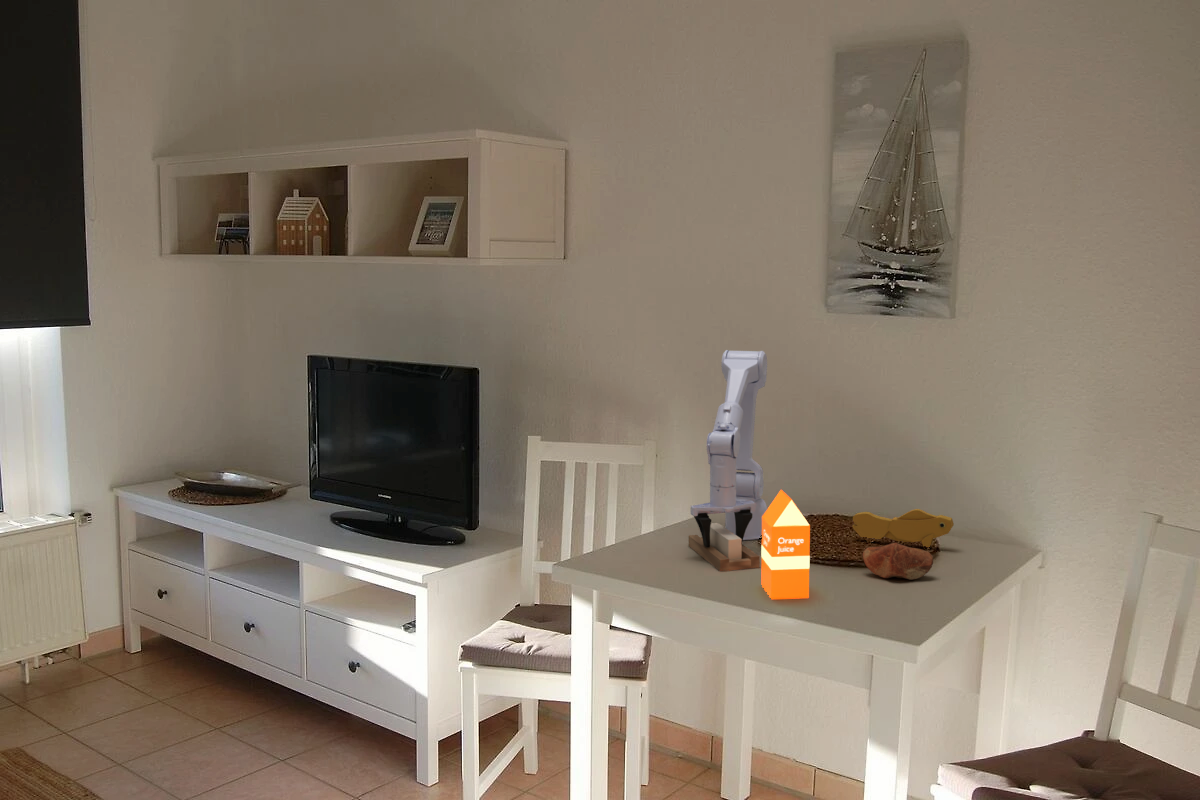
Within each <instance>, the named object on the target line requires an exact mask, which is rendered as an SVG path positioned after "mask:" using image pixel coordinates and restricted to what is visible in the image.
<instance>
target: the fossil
mask: <svg viewBox="0 0 1200 800" xmlns="http://www.w3.org/2000/svg"><path fill="white" fill-rule="evenodd" d="M861 554H862V555H861V556H862V558H863V559H862V560H863V563H864V565H865V567H866V568H867V569H868V570H869V571H870V572H871V573H873V574H874V575H876V576H879V577H881V578H883V579H890V578H897V579H906V580H910V581H911V580H917V579H920V578H923V577H924V576H925V575H926V574H928V573H929V572H930V571H931V569H932V567H933V564H934V556H933V554H931V553H930V552H929V550H926V549H925V550H924V549H921V548H916V547H911V546H910V547H909V546H906V545H903V544H901V543H898V542H892V543H889V544H886V545H883V546H868V547H866V548H865V549H864V550H863V552H862V553H861Z"/></svg>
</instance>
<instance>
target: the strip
mask: <svg viewBox="0 0 1200 800" xmlns="http://www.w3.org/2000/svg"><path fill="white" fill-rule="evenodd" d="M742 544H743V542H742V539H741V538H740V537H738V536H737V535H735V534H734V533H732V532H731V531H729V530H728V529H726V528H725V527H724V525H722V524H720V523H719V522H714V523H713V522H711V526H710V545H711V546H712V547H714V548H715V549H716V550H718V551H719V552H720V553H722V554H723V555H724V556H726V557H727V558H728V559H729V560H736V559H741V552H742Z"/></svg>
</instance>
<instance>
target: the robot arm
mask: <svg viewBox="0 0 1200 800" xmlns="http://www.w3.org/2000/svg"><path fill="white" fill-rule="evenodd" d="M720 363H721V365H720V366H721V373H722V375H723V376H724V377H723V378H724V380H725V381H726V388H725V398H724V402H723V403H721V404H720V405H719V406H718V407H717V412H716V416H715V420H714V425H713V429H712V432H709V433H708V434H707V438H706V453H707V463H708V465H709V502H705V503H700V504H694V505H690V515H691V516H692V517H694V519H695V522H696V524H697V527H698V529H699V531H700V535H701V537H702V539H703V544H704V546H705V547H710V526H711V523H712V518H710V515H711V514H714V515H715V514H724V515H725V523H724V524H725V528H726V529H728V530H729V531H731V532H732V533H734V534H735V535H737V536H738V537H740V538H741V539H742V543H744V542H743V541H749V540H750V541H752V540H760V539H759V538H760V536H761V535H762V516H763V515H764V513H765V512H766V510H767V509H768V506H767V503H766V501H765V499H763V498H762V497H763V493H764V488H765V487H764V480H765V479H764V470H763V466H761V465H760V464H759V463H758V461H757V462H756V460H754V459H753V451H754V449H753V448H754V437H755V425H756V424H755V422H756V411H757V410H756V408H757V398H758V392H759V390H761V389H762V388H765V386H766V383H767V375H768V355H767V353H765V350H757V351H756V350H729V349H725V351H724V352H723V353H722V356H721V362H720Z"/></svg>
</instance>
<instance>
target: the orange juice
mask: <svg viewBox="0 0 1200 800" xmlns="http://www.w3.org/2000/svg"><path fill="white" fill-rule="evenodd" d="M810 542H811V525H810V524H809V522H808V521H807V519H806V518H805V516H804V515H803V514H802V512H801V510H800V509H799V508H798V507H797V504H796V503H795V502H794V501H793V499H792V498H791V497H790V496H789V495H788V494H787V493H786V492H784V491H783V490H782V489H780V490H779V491H778V493H777V495H776V496H775V497H774V499H773V500H772V502H771V503H770V504H769V506H767V510H766V512H765V513H764V515H763V516H762V539H761V551H760V553H761V556H760V558H761V563H760V565H761V567H760V568H761V571H760V572H761V577H760V578H761V579H760V581H761V582H760V583H761V585H762V586H761V587H762V589H763V588H764V589H763V590H764V591H765V593H766V592H767V593H766V594H767V596H768V595H769V596H768V597H769V599H770V598H771V599H770V600H792V599H793V600H794V599H795V600H796V599H798V600H799V599H809V598H810V567H811V566H810V560H811V556H810V549H811V548H810V545H811V543H810Z"/></svg>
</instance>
